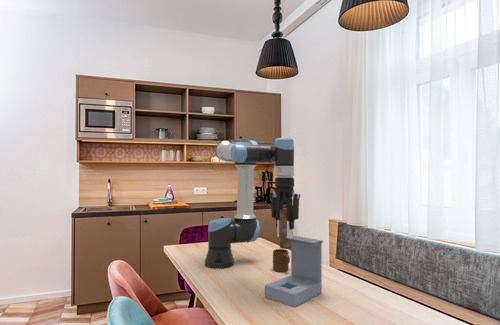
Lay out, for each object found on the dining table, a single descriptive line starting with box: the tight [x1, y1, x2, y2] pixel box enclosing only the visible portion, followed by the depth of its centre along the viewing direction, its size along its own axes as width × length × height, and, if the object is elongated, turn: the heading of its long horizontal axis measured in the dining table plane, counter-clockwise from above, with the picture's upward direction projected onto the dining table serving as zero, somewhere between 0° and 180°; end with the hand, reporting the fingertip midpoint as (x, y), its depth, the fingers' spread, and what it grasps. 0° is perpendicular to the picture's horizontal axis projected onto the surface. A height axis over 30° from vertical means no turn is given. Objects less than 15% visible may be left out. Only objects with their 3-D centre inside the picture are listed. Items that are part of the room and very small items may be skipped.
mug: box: [272, 248, 291, 273], centre depth 164 cm, size 12×8×9 cm, turn 22°
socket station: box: [264, 235, 324, 308], centre depth 133 cm, size 15×18×21 cm
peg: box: [279, 208, 291, 250], centre depth 133 cm, size 4×4×15 cm
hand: (284, 236), depth 132 cm, fingers closed on peg, 4 cm apart
